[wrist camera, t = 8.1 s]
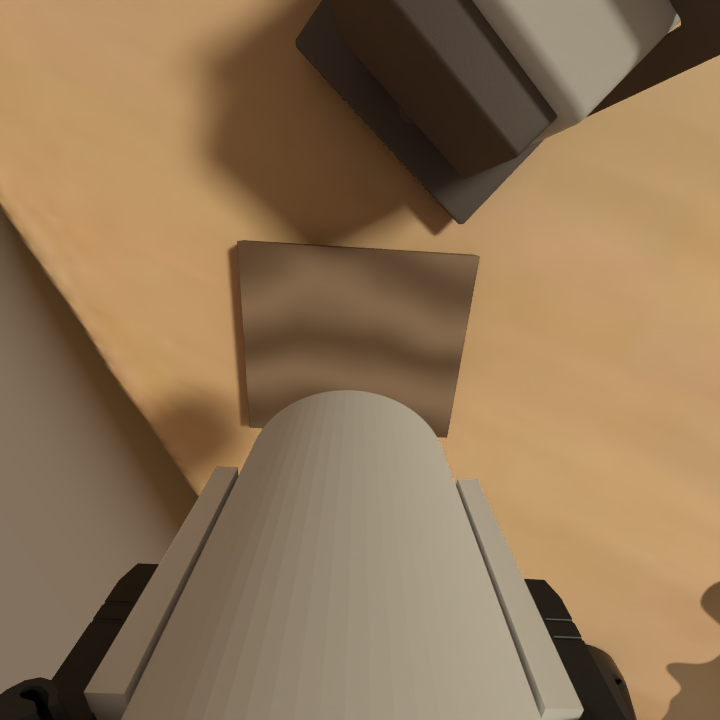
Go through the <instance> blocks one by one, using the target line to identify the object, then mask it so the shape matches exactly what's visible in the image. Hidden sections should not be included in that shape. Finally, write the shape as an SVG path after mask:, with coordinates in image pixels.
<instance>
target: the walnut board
mask: <svg viewBox="0 0 720 720" xmlns="http://www.w3.org/2000/svg"><path fill="white" fill-rule="evenodd" d="M237 246H238V261H239V275H240V290H241V305H242V320H243V335H244V349H245V364H246V379H247V394H248V408H249V423H250V428H264V427H265V425H266V424H267V423H268V422H269V421H270V420H271V419H272V418H273V417H274V416H275V415H276V414H277V413H279V412H280V411H281V410H283V409H284V408H286V407H287V406H289V405H290V404H292V403H294V402H296V401H298V400H301V399H303V398H306V397H309V396H311V395H315V394H319V393H323V392H329V391H338V390H355V391H364V392H370V393H374V394H378V395H382V396H385V397H388V398H390V399H393V400H395V401H397V402H399V403H401V404H403V405H405V406H406V407H408V408H410V409H411V410H412V411H414V412H415V413H416V414H418V415H419V416H420V417H421V418H422V419H423V420H424V421H425V422H426V423H427V424H428V425H429V426H430V428H431V429H432V430H433V432H434V433H435V435H436V436H437V437H446V438H447V435H448V429H449V423H450V418H451V412H452V407H453V401H454V396H455V390H456V385H457V379H458V374H459V368H460V363H461V357H462V352H463V346H464V341H465V335H466V330H467V324H468V319H469V313H470V307H471V302H472V296H473V291H474V285H475V280H476V274H477V269H478V263H479V258H480V256H476V255H468V254H453V253H437V252H421V251H405V250H389V249H373V248H357V247H341V246H326V245H310V244H294V243H278V242H262V241H246V240H243V241H237Z"/></svg>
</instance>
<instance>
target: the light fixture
mask: <svg viewBox="0 0 720 720" xmlns="http://www.w3.org/2000/svg"><path fill="white" fill-rule="evenodd" d="M680 20H681V26H679V27H678V28H676V29H674V30H673V31H671V32H669V31H670V30H671V29H672V28H673V27H674V26H675V25H676V24H677V23H678V22H679V21H680ZM668 32H669V33H668ZM667 33H668V34H667ZM296 46H297V48H298V49H299V50H300V52H301V53H302V54H303V55H304V56H305V57H306V58H307V59H308V60H309V61H310V62H311V64H312V65H313V66H314V67H315V68H316V69H317V70H318V71H319V72H320V73H321V74H322V76H323V77H324V78H325V79H326V80H327V81H328V82H329V83H330V84H331V85H332V86H333V88H334V89H335V90H336V91H337V92H338V93H339V94H340V95H341V96H342V97H343V98H344V100H345V101H346V102H347V103H348V104H349V105H350V106H351V107H352V108H353V109H354V110H355V112H356V113H357V114H358V115H359V116H360V117H361V118H362V119H363V120H364V121H365V122H366V124H367V125H368V126H369V127H370V128H371V129H372V130H373V131H374V132H375V133H376V134H377V136H378V137H379V138H380V139H381V140H382V141H383V142H384V143H385V144H386V145H387V146H388V148H389V149H390V150H391V151H392V152H393V153H394V154H395V155H396V156H397V157H398V158H399V160H400V161H401V162H402V163H403V164H404V165H405V166H406V167H407V168H408V169H409V170H410V172H411V173H412V174H413V175H414V176H415V177H416V178H417V179H418V180H419V181H420V182H421V184H422V185H423V186H424V187H425V188H426V189H427V190H428V191H429V192H430V193H431V194H432V196H433V197H434V198H435V199H436V200H437V201H438V202H439V203H440V204H441V205H442V206H443V208H444V209H445V210H446V211H447V212H448V213H449V214H450V215H451V216H452V217H453V218H454V220H455V221H456V222H457V223H458V224H463V223H465V222H466V221H467V220H468V219H469V218H470V216H471V215H472V214H473V213H474V212H475V211H476V210H477V209H478V208H479V207H480V206H481V205H482V204H483V203H484V202H485V201H486V200H487V199H488V198H489V197H490V196H491V194H492V193H493V192H494V191H495V190H496V189H497V188H498V187H499V186H500V185H501V184H502V183H503V182H504V181H505V180H506V179H507V178H508V177H509V176H510V175H511V174H512V173H513V171H514V170H515V169H516V168H517V167H518V166H519V165H520V164H521V163H522V162H523V161H524V160H525V159H526V158H527V157H528V156H529V155H530V154H531V153H532V152H533V151H534V149H535V148H536V147H537V146H538V145H539V144H540V143H541V142H542V141H543V140H544V139H545V138H547V137H550V136H552V135H554V134H556V133H558V132H560V131H563V130H565V129H567V128H569V127H571V126H574V125H576V124H578V123H579V122H581V121H582V120H583V119H584V118H586V117H588V116H590V115H592V114H594V113H596V112H598V111H601V110H603V109H605V108H607V107H609V106H611V105H613V104H616V103H618V102H620V101H622V100H624V99H626V98H628V97H631V96H633V95H635V94H637V93H639V92H641V91H643V90H646V89H648V88H650V87H652V86H654V85H656V84H658V83H660V82H663V81H665V80H667V79H669V78H671V77H673V76H675V75H678V74H680V73H682V72H684V71H686V70H688V69H690V68H693V67H695V66H697V65H699V64H701V63H703V62H705V61H708V60H710V59H712V58H714V57H716V56H718V55H720V0H322V1H321V3H320V4H319V6H318V7H317V9H316V10H315V12H314V13H313V15H312V16H311V18H310V19H309V21H308V22H307V24H306V25H305V27H304V28H303V30H302V31H301V33H300V34H299V36H298V37H297V39H296Z"/></svg>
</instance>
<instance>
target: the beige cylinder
mask: <svg viewBox="0 0 720 720" xmlns="http://www.w3.org/2000/svg"><path fill="white" fill-rule="evenodd" d="M121 720H542V719H541V716H540V714H539V711H538V708H537V706H536V703H535V700H534V697H533V695H532V692H531V689H530V686H529V684H528V681H527V678H526V676H525V673H524V670H523V667H522V665H521V662H520V659H519V656H518V654H517V651H516V648H515V645H514V643H513V640H512V637H511V635H510V632H509V629H508V626H507V624H506V621H505V618H504V615H503V613H502V610H501V607H500V605H499V602H498V599H497V596H496V594H495V591H494V588H493V585H492V583H491V580H490V577H489V574H488V572H487V569H486V566H485V564H484V561H483V558H482V555H481V553H480V550H479V547H478V544H477V542H476V539H475V536H474V534H473V531H472V528H471V525H470V523H469V520H468V517H467V514H466V512H465V509H464V506H463V503H462V501H461V498H460V495H459V493H458V490H457V487H456V484H455V482H454V479H453V476H452V473H451V471H450V468H449V465H448V463H447V460H446V457H445V454H444V452H443V449H442V446H441V444H440V442H439V440H438V438H437V436H436V435H435V433H434V432H433V430H432V429H431V428H430V426H429V425H428V424H427V423H426V422H425V421H424V420H423V419H422V418H421V417H420V416H419V415H418V414H416V413H415V412H414V411H412V410H411V409H410V408H408V407H406V406H405V405H403V404H401V403H399V402H397V401H395V400H393V399H390V398H388V397H385V396H382V395H378V394H374V393H370V392H364V391H355V390H338V391H329V392H323V393H319V394H315V395H311V396H309V397H306V398H303V399H301V400H298V401H296V402H294V403H292V404H290V405H289V406H287V407H286V408H284V409H283V410H281V411H280V412H279V413H277V414H276V415H275V416H274V417H273V418H272V419H271V420H270V421H269V422H268V423H267V424H266V425H265V427H264V428H263V429H262V431H261V432H260V434H259V435H258V437H257V439H256V441H255V443H254V445H253V447H252V449H251V451H250V454H249V456H248V458H247V460H246V462H245V464H244V466H243V468H242V470H241V472H240V474H239V476H238V478H237V480H236V483H235V485H234V487H233V489H232V491H231V493H230V495H229V497H228V499H227V501H226V503H225V505H224V507H223V509H222V511H221V514H220V516H219V518H218V520H217V522H216V524H215V526H214V528H213V530H212V532H211V534H210V536H209V538H208V540H207V543H206V545H205V547H204V549H203V551H202V553H201V555H200V557H199V559H198V561H197V563H196V565H195V567H194V569H193V571H192V574H191V576H190V578H189V580H188V582H187V584H186V586H185V588H184V590H183V592H182V594H181V596H180V598H179V600H178V603H177V605H176V607H175V609H174V611H173V613H172V615H171V617H170V619H169V621H168V623H167V625H166V627H165V629H164V631H163V634H162V636H161V638H160V640H159V642H158V644H157V646H156V648H155V650H154V652H153V654H152V656H151V658H150V660H149V663H148V665H147V667H146V669H145V671H144V673H143V675H142V677H141V679H140V681H139V683H138V685H137V687H136V689H135V691H134V694H133V696H132V698H131V700H130V702H129V704H128V706H127V708H126V710H125V712H124V714H123V716H122V718H121Z"/></svg>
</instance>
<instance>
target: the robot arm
mask: <svg viewBox="0 0 720 720" xmlns="http://www.w3.org/2000/svg"><path fill="white" fill-rule="evenodd" d="M237 478H238V467H218V466H217V467H216V469H215V471H214V472H213V474H212V476H211V477H210V479H209V481H208V482H207V484H206V486H205V488H204V489H203V491H202V493H201V494H200V496H199V498H198V499H197V501H196V503H195V505H194V506H193V508H192V510H191V511H190V513H189V515H188V516H187V518H186V520H185V521H184V523H183V525H182V527H181V529H180V530H179V532H178V533H177V535H176V537H175V538H174V540H173V542H172V543H171V545H170V547H169V549H168V550H167V552H166V554H165V555H164V557H163V559H162V560H161V562H160V564H137V565H136V566H134V567H133V568H132V569H131V570H130V571H129V572H128V573H127V574H126V575H124V576H123V577H122V578H121V579H120V580H119V581H118V583H117V584H116V586H115V587H114V589H113V590H112V591H111V593H110V595H109V596H108V598H107V599H106V600H105V604H104V605H102V606H101V608H100V609H99V611H98V612H97V614H96V615H95V617H94V619H93V622H92V623H90V624H89V625H88V627H87V628H86V630H85V631H84V633H83V634H82V636H81V637H80V639H79V640H78V642H77V643H76V645H75V646H74V648H73V649H72V651H71V652H70V654H69V655H68V656H67V658H66V660H65V661H64V662H63V664H62V665H61V667H60V668H59V670H58V671H57V673H56V674H55V676H54V677H53V679H52V680H48V679H44V678H41V677H40V678H35V679H30V680H25V681H23V682H21V683H19V684H17V685H15V686H13V687H11V688H9V689H7V690H6V691H4V692H3V693H2V694H0V720H121V718H122V716H123V714H124V712H125V710H126V708H127V706H128V704H129V702H130V700H131V698H132V696H133V694H134V691H135V689H136V687H137V685H138V683H139V681H140V679H141V677H142V675H143V673H144V671H145V669H146V667H147V665H148V663H149V660H150V658H151V656H152V654H153V652H154V650H155V648H156V646H157V644H158V642H159V640H160V638H161V636H162V634H163V631H164V629H165V627H166V625H167V623H168V621H169V619H170V617H171V615H172V613H173V611H174V609H175V607H176V605H177V603H178V600H179V598H180V596H181V594H182V592H183V590H184V588H185V586H186V584H187V582H188V580H189V578H190V576H191V574H192V571H193V569H194V567H195V565H196V563H197V561H198V559H199V557H200V555H201V553H202V551H203V549H204V547H205V545H206V543H207V540H208V538H209V536H210V534H211V532H212V530H213V528H214V526H215V524H216V522H217V520H218V518H219V516H220V514H221V511H222V509H223V507H224V505H225V503H226V501H227V499H228V497H229V495H230V493H231V491H232V489H233V487H234V485H235V483H236V480H237ZM456 487H457V490H458V493H459V495H460V498H461V501H462V503H463V506H464V509H465V512H466V514H467V517H468V520H469V523H470V525H471V528H472V531H473V534H474V536H475V539H476V542H477V544H478V547H479V550H480V553H481V555H482V558H483V561H484V564H485V566H486V569H487V572H488V574H489V577H490V580H491V583H492V585H493V588H494V591H495V594H496V596H497V599H498V602H499V605H500V607H501V610H502V613H503V615H504V618H505V621H506V624H507V626H508V629H509V632H510V635H511V637H512V640H513V643H514V645H515V648H516V651H517V654H518V656H519V659H520V662H521V665H522V667H523V670H524V673H525V676H526V678H527V681H528V684H529V686H530V689H531V692H532V695H533V697H534V700H535V703H536V706H537V708H538V711H539V714H540V716H541V719H542V720H637V719H636V715H635V712H634V709H633V705H632V702H631V699H630V695H629V692H628V688H627V685H626V682H625V680H624V678H623V676H622V674H621V673H620V671H619V669H618V667H617V666H616V664H615V662H614V661H613V659H612V658H611V657H610V656H609V655H608V654H607V653H606V652H604V651H602V650H600V649H598V648H595V647H592V646H587V645H586V644H585V642H584V641H582V639H581V635H580V633H579V631H578V629H577V627H576V625H575V624H574V623H573V622H572V618H571V616H570V614H569V612H568V611H567V609H566V607H565V605H564V603H563V601H562V599H561V598H560V597H559V595H558V594H557V593H556V592H555V591H554V590H553V589H552V588H551V587H550V586H549V584H548V583H547V582H546V581H545V580H535V579H523V576H522V574H521V572H520V570H519V568H518V566H517V563H516V561H515V559H514V557H513V555H512V553H511V550H510V548H509V546H508V544H507V542H506V540H505V537H504V535H503V533H502V531H501V529H500V526H499V524H498V522H497V520H496V518H495V516H494V513H493V511H492V509H491V507H490V505H489V503H488V500H487V498H486V496H485V494H484V492H483V490H482V487H481V485H480V483H479V481H478V479H462V478H458V479H457V484H456Z"/></svg>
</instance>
